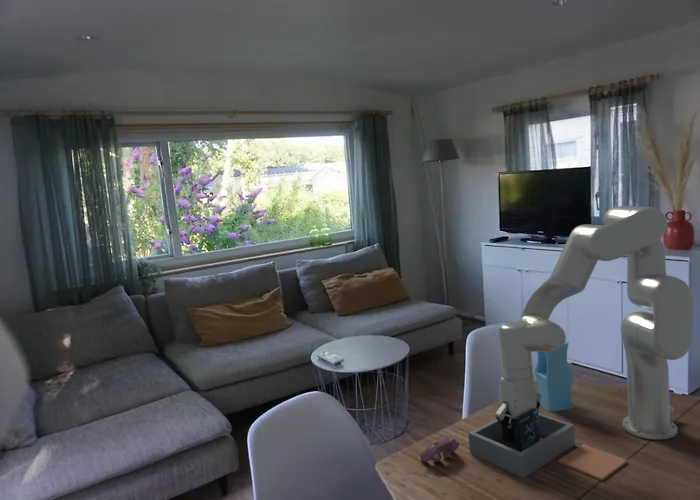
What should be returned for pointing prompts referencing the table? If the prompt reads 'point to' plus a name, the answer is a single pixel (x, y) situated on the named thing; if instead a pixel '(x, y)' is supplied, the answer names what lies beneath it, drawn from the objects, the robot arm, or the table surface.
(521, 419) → the box
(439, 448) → the video game controller
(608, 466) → the mat
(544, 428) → the enclosure
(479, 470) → the table surface
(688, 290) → the robot arm
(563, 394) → the vase
